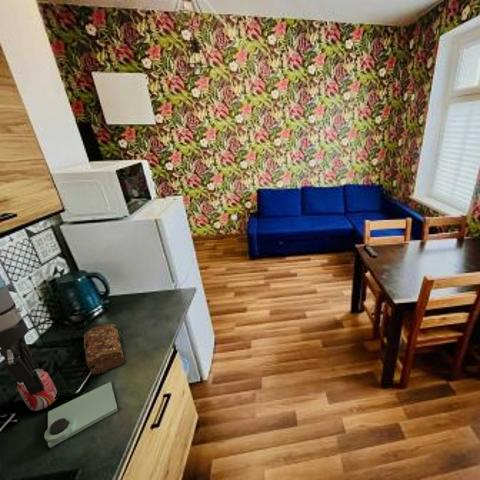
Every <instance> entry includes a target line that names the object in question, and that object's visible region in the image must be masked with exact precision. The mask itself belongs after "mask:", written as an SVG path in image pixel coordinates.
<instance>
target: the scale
mask: <svg viewBox="0 0 480 480" xmlns="http://www.w3.org/2000/svg"><path fill="white" fill-rule="evenodd" d="M118 411H119V410H118V406H117V401H116V398H115V393H114V389H113V385H112V381H109V382H107V383H105V384H102V385H101V386H99V387H97V388H94V389H92V390H90V391H88V392H86V393H84V394H82V395H80V396H78V397H76V398H73V399H72V400H69V401H68V402H66V403H63V404H61V405H59V406H57V407H55V408H52V409H51V410H49V411H47V429H46V430H45V432H44V437H43V438H44V440H45V441H46V442H47V446H48V448H49V449H51V448H53V447H54V446H57V445H58V444H60V443H62V442H64V441H66V440H67V439H69V438H71V437H73V436H74V435H77V434H79V433H80V432H82V431H84V430H86V429H87V428H89V427H91V426H93V425H95V424H96V423H99V422H100V421H103V420H104V419H106V418H107V417H109V416H111V415H112V414H113V415H114V413H116V412H118ZM61 418H65V419H66V420H67V422H68V427H67V428H66V429H65V430H64V431H63V432H61V433H59V434H56V435H53V434H52V433H51V431H50V426H51V425H52V424H53V423H54V422H55V421H57V420H59V419H61Z"/></svg>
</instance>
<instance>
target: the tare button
mask: <svg viewBox="0 0 480 480" xmlns="http://www.w3.org/2000/svg"><path fill="white" fill-rule="evenodd" d="M67 427H68V422H67V420H66V419H65V418H61V419H59V420H57V421H55V422H54V423H53V424H52V425H51V426H50V431H51V433H52V434H53V435H56V434H59V433H61V432H63V431H64V430H65V429H66V428H67Z"/></svg>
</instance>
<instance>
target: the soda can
mask: <svg viewBox="0 0 480 480" xmlns="http://www.w3.org/2000/svg"><path fill="white" fill-rule="evenodd" d="M35 370H36V372H37V374H38V376H39V378H40V379H41V381H42V383H43V385H44V390H43V391H41V392H39V393H36V394H34V395H32V396H31V395H30V393H29V392H28V390H27V388H26V387H25V385H24V383H23V382H22V383H19V382H17V381H16V384H17V386H16V389H17V392H18V393H19V396H20V397H21V398H22V400H23V402H24V403H25V406H26V407H27V408H28V409H29V410H30V411H32V412H35V411H36V412H37V411H41V410H43V409H46V408H48V407H49V406H50V405H52V404H53V403H54V402H55V401H56V400H57V399H58V397H57V398H56V399H55V397H56V394H57V392H58V390H57V388H56V386H55V384H54V382H53V380H52V378H51V376H50V375H49V373H48V372H47V371H45V370H44V369H42V368H38V369H35ZM35 370H33V371H35Z"/></svg>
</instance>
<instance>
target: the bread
mask: <svg viewBox="0 0 480 480" xmlns="http://www.w3.org/2000/svg"><path fill="white" fill-rule="evenodd" d="M83 346H84V347H83V348H84V353H85V355H84V356H85V357H84V358H85V362H86V365H87V367H88V369H89V372H90V373H91V374H92V375H93V376H97V375H99V374H104V373H105V372H107V371H109V370H111V369H113V368H117V367H119V366H122V365H123V364H125V362H126V361H125V356H124V353H123V348H122V344H121V339H120V335H119V331H118V327H117V325H116V324H113V323H112V324H109V323H108V324H107V323H106V324H102V325H97V326H94V327H92V328H90V329H88V330H87V331H85V333H84V334H83Z"/></svg>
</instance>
